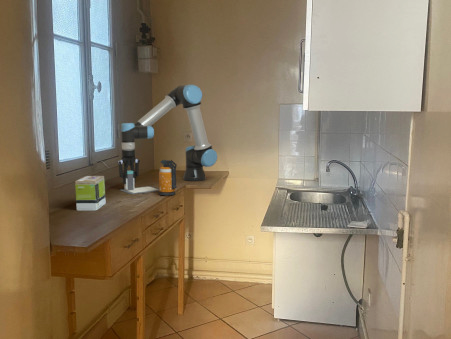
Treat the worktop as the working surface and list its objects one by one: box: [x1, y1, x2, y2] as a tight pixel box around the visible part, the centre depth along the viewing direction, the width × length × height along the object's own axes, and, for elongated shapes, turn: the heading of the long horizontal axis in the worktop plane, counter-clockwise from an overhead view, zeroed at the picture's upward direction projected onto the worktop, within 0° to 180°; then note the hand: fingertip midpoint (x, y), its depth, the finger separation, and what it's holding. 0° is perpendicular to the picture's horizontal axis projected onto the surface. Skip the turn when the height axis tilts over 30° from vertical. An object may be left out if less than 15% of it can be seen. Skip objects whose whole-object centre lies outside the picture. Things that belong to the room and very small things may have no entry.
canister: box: [158, 159, 178, 197], centre depth 246 cm, size 9×11×20 cm
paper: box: [119, 185, 159, 195], centre depth 261 cm, size 20×16×1 cm
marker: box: [126, 169, 135, 190], centre depth 259 cm, size 4×4×11 cm
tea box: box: [74, 175, 107, 212], centre depth 216 cm, size 15×10×15 cm, turn 178°
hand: (129, 188), depth 260 cm, fingers closed on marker, 4 cm apart
